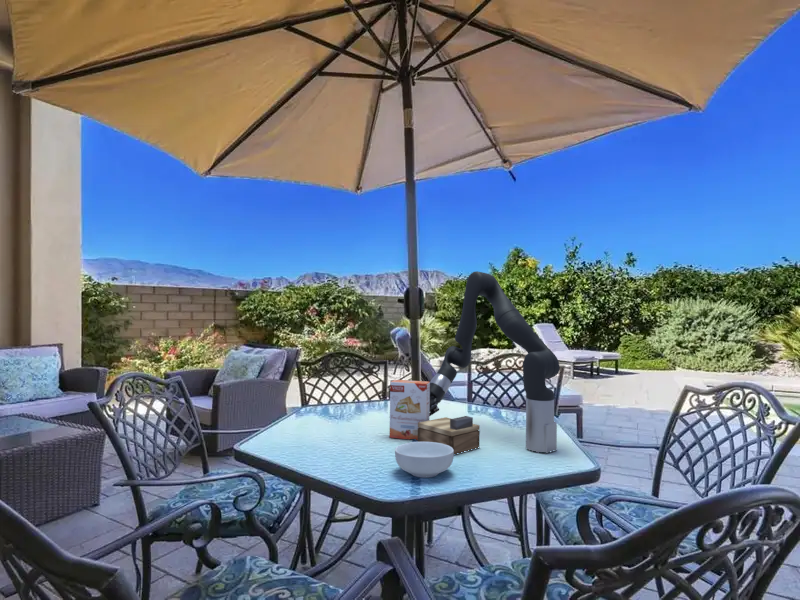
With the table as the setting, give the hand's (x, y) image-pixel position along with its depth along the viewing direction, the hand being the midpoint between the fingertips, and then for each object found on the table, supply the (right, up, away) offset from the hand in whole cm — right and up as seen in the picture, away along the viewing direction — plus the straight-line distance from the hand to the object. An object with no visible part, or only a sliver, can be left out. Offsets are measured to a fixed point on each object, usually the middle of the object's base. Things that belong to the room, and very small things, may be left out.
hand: (414, 423), depth 177 cm
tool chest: (+11, -4, -14) cm, 19 cm away
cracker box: (-2, -4, -4) cm, 6 cm away
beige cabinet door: (+11, +2, -14) cm, 18 cm away
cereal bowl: (+2, -3, -41) cm, 42 cm away
